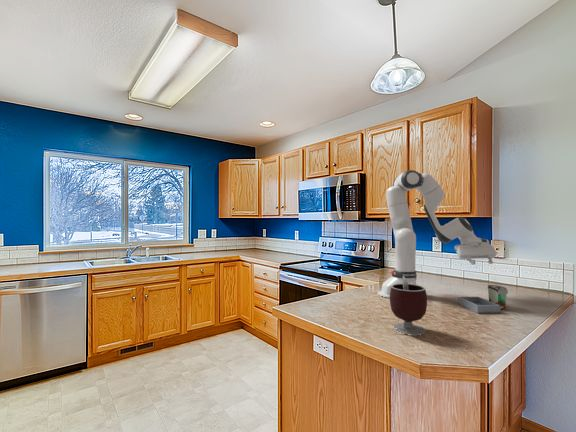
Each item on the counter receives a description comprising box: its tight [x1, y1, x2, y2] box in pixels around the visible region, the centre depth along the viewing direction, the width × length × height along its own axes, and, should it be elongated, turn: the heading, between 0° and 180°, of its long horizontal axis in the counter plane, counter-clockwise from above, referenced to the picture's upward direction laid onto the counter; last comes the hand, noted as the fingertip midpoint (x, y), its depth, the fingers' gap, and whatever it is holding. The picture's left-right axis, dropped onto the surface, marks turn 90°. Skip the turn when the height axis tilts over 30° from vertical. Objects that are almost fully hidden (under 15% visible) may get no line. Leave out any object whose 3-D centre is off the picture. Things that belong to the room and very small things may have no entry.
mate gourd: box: [389, 276, 428, 336], centre depth 124 cm, size 16×14×20 cm
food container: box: [487, 284, 509, 311], centre depth 153 cm, size 12×6×10 cm, turn 168°
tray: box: [457, 296, 501, 314], centre depth 152 cm, size 11×17×4 cm, turn 0°
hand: (482, 263), depth 167 cm, fingers open, 8 cm apart
